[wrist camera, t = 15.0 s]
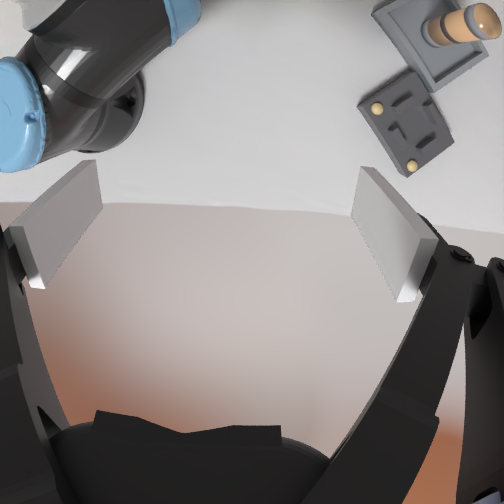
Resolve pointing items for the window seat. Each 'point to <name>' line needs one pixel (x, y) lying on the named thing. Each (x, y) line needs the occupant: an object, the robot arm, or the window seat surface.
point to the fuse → (462, 26)
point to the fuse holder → (407, 123)
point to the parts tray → (418, 51)
